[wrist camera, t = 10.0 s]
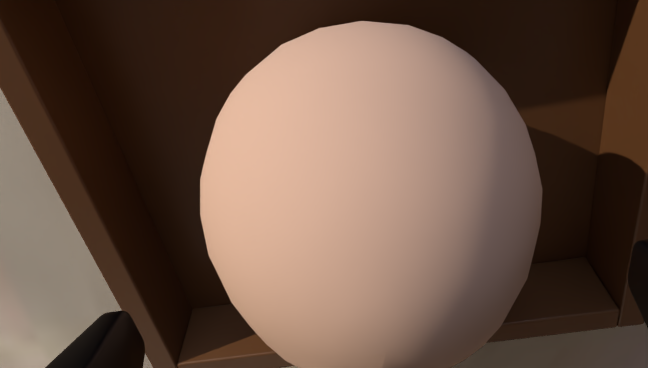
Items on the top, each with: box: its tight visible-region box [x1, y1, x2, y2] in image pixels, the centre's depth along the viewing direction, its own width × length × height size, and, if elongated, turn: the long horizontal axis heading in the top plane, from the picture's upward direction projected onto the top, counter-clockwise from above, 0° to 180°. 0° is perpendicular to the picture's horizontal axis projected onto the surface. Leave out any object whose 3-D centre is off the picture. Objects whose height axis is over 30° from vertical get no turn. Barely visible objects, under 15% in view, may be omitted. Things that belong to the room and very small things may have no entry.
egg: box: [200, 21, 542, 368], centre depth 11 cm, size 7×7×8 cm
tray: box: [0, 0, 648, 368], centre depth 14 cm, size 16×15×3 cm
